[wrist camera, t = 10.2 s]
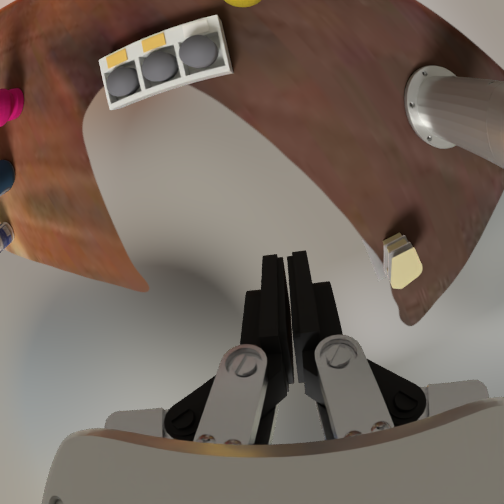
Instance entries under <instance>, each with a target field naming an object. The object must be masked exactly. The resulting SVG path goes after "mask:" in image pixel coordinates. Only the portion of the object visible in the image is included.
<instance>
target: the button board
mask: <svg viewBox="0 0 504 504" xmlns="http://www.w3.org/2000/svg"><path fill="white" fill-rule="evenodd" d="M194 35H204V36H206V37H208V38H210V39H211V40H212V41H213V42H214V43H215V44H216V45H217V47H218V51H219V53H218V57H217V59H216V61H215V62H214V63H213V64H212V65H210V66H208V67H206V68H194V67H191V66H188V65H186V64H184V63H183V62H182V61H181V59H180V57H179V49H180V46H181V44H182V43H183V42H184V41H185V40H186V39H187V38H189V37H191V36H194ZM157 51H162V52H166V53H169V54H172V55H174V56H175V57H176V58H177V62H178V66H179V69H178V72H177V74H176V75H175V76H174V77H173V78H172V79H170V80H168V81H165V82H158V81H150V80H148V79H146V78H145V77H144V75H143V73H142V64H143V62H144V60H145V59H146V57H147V56H148V55H150V54H151V53H153V52H157ZM99 64H100V69H101V74H102V78H103V83H104V88H105V91H106V96H107V100H108V104H109V108H110V110H114V109H119V108H122V107H125V106H127V105H130V104H132V103H134V102H137V101H139V100H142V99H145V98H148V97H150V96H153V95H156V94H159V93H162V92H165V91H168V90H171V89H174V88H177V87H181V86H184V85H187V84H191V83H194V82H198V81H202V80H205V79H209V78H214V77H218V76H222V75H227V74H231V73H233V70H232V65H231V61H230V56H229V52H228V47H227V43H226V38H225V34H224V30H223V25H222V21H221V19H220V18H219V17H218V15H213V16H209V17H206V18H202V19H198V20H195V21H191V22H188V23H185V24H182V25H178V26H175V27H173V28H170V29H167V30H164V31H161V32H159V33H156V34H153V35H151V36H148V37H146V38H144V39H141V40H139V41H136V42H134V43H132V44H130V45H128V46H125V47H123V48H121V49H119V50H117V51H115V52H113V53H111V54H109V55H107V56H105V57H103V58H102V59H100V60H99ZM119 67H127V68H134V69H136V70H137V74H138V78H139V83H140V86H139V88H138V89H137V91H136V92H134V93H133V94H131V95H125V96H113V95H111V94H110V93H109V92H108V90H107V85H106V83H107V79H108V76H109V75H110V73H111V72H112V71H113V70H115V69H116V68H119Z"/></svg>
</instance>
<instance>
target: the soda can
mask: <svg viewBox="0 0 504 504" xmlns="http://www.w3.org/2000/svg"><path fill="white" fill-rule="evenodd" d="M14 180H15V171H14V168H13V166H12V164H11V163H10V162H9V161H7V160H0V196H1V195H2V194H4V193H6V192H7V191H9V190H10V189H11V187H12V185H13V183H14Z"/></svg>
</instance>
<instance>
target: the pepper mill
mask: <svg viewBox="0 0 504 504" xmlns="http://www.w3.org/2000/svg"><path fill="white" fill-rule="evenodd" d="M23 104H24V96H23V93H22V91H21V90H20V89H19V88H14V89H10V90H7V89H0V127H1V126H3V125H4V124H5V123H6V122H7V121H11V120H14V119H16V118H17V117H19V115H20V114H21V112H22V109H23Z"/></svg>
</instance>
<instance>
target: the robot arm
mask: <svg viewBox="0 0 504 504" xmlns="http://www.w3.org/2000/svg"><path fill="white" fill-rule="evenodd" d="M422 73H423V74H422ZM404 102H405V110H406V115H407V117H408V120H409V123H410V124H411V126H412V128H413V130H414V131H415V132H416V134H417V135H418V136H419V137H420V138H421V139H422V140H423V141H425V142H426V143H428V144H430V145H432V146H434V147H437V148H444V149H447V148H451V147H454V146H456V145H457V146H459V147H462V148H464V149H466V150H468V151H470V152H472V153H475V154H477V155H479V156H481V157H483V158H485V159H487V160H488V161H490V162H492V163H494V164H496V165H498V166H500V167H501V168H503V169H504V82H501V81H495V80H487V79H479V78H468V77H457V76H456V75H455V74H453V73H452V72H451V71H449V70H448V69H446V68H444V67H440V66H432V65H431V66H424V67H422V68H419V69H418V70H416V71H415V72H414V73H413V74H412V75H411V77H410V78H409V80H408V82H407V85H406V89H405V96H404ZM410 104H411V105H410ZM427 137H428V138H427ZM287 261H288V273H289V286H290V301H291V313H290V304H289V297H288V290H287V284H286V283H287V282H286V276H285V269H284V262H283V257H280V258H278V257H277V254H274V255H266V256H263V260H262V280H261V290H252V291H247V292H246V297H245V305H244V314H243V323H242V332H241V341H240V345H238V346H235V347H233V348H232V349H230V350H228V351H227V352H226V353H225V354H224V356H223V358H222V360H221V362H220V365H219V368H218V371H217V374H216V375H215V376H214V377H213V378H211V379H210V380H209V381H207V382H206V383H204V384H203V385H202V386H201V387H199V388H198V389H196V390H195V391H193V392H192V393H191V394H189V395H188V396H187V397H185V398H184V399H182V400H181V401H179V402H178V403H176V404H175V405H174V406H172V407H171V408H170V409H168V410H164V409H163V408H156V409H145V410H132V411H118V412H114V413H113V414H111V415H110V416H109V417H108V418H107V420H106V423H105V428H94V429H86V430H81V431H78V432H75V433H72V434H70V435H69V436H67V437H66V438H65V439H64V440H63V442H62V443H61V445H60V446H59V449H58V450H57V453H56V455H55V457H54V460H53V462H52V465H51V468H50V471H49V475H48V478H47V482H46V486H45V490H44V495H43V500H42V504H504V397H494V398H489V394H488V391H487V388H486V386H485V385H484V384H483V383H482V382H480V381H479V380H467V381H459V382H451V383H441V384H429V385H428V386H427V387H418V386H417V385H416V384H414V383H412V382H410V381H408V380H406V379H404V378H402V377H400V376H398V375H397V374H395V373H393V372H391V371H389V370H387V369H385V368H383V367H381V366H379V365H378V364H375V363H374V362H372V361H370V360H368V359H366V357H365V355H364V352H363V350H362V348H361V346H360V344H359V343H358V342H357V341H356V340H355V339H353V338H352V337H349V336H346V335H343V334H342V329H341V325H340V321H339V316H338V312H337V308H336V304H335V300H334V295H333V292H332V288H331V284H330V282H320V283H314V284H312V280H311V275H310V269H309V264H308V258H307V253H306V251H298V252H292V256H288V257H287ZM291 316H292V328H291ZM292 331H293V340H294V348H295V356H296V364H297V373H298V381H299V383H304V384H305V394H306V395H308V396H309V397H311V398H312V399H314V400H315V403H316V407H317V411H318V415H319V419H320V423H321V427H322V431H323V435H324V439H325V441H316V442H307V443H295V444H278V445H277V444H276V445H271V444H272V440H273V435H274V430H275V425H276V419H277V414H278V408H279V402H280V401H281V400H282V399H283V398H285V397H286V396H287V392H288V391H289V384H293V383H294V368H293V347H292Z"/></svg>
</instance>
